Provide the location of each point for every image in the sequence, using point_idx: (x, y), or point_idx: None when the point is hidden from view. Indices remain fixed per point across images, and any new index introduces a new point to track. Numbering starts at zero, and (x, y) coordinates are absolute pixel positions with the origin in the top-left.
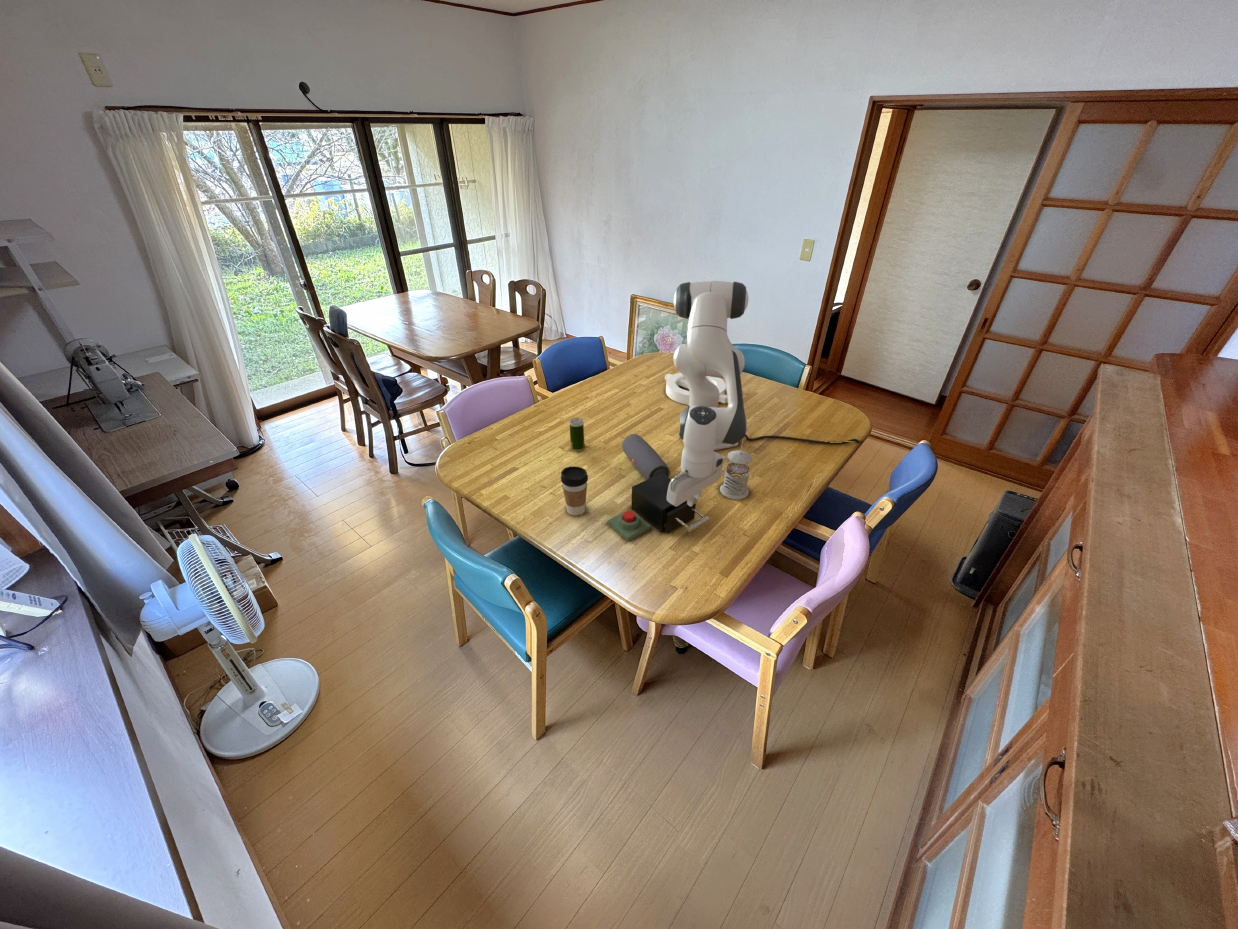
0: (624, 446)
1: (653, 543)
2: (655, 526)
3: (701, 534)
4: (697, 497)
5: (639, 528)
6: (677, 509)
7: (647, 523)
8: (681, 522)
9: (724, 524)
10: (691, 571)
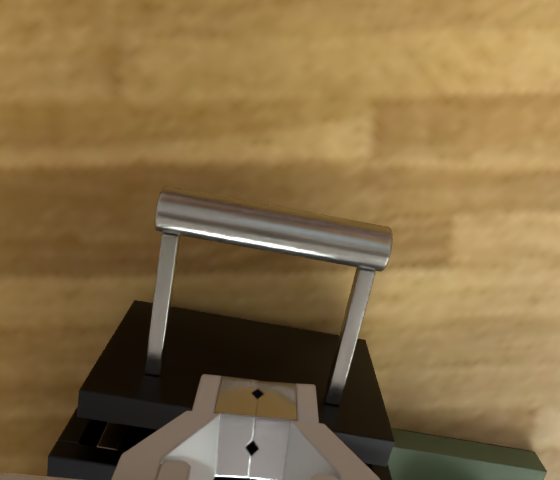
0: None
1: (466, 350)
2: None
3: (208, 188)
4: (206, 428)
5: (442, 471)
6: None
7: None
8: (358, 330)
9: (10, 126)
10: (550, 42)
